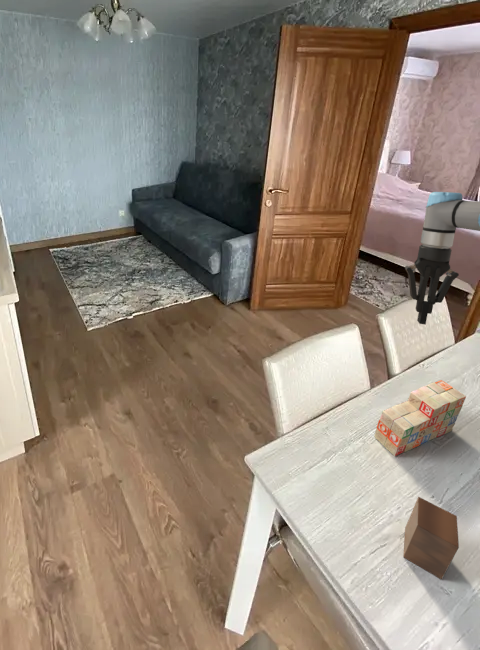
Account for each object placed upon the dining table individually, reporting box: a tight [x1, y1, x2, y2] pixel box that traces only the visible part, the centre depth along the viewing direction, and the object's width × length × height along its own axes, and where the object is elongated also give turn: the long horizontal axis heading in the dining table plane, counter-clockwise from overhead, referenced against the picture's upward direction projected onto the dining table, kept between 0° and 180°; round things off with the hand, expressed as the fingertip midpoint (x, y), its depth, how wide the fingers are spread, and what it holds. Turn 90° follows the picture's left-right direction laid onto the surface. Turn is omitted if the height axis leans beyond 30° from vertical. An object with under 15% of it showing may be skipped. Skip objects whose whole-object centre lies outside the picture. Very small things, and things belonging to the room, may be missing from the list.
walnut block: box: [402, 496, 460, 580], centre depth 65 cm, size 6×6×10 cm
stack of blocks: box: [373, 379, 467, 457], centre depth 89 cm, size 21×6×12 cm, turn 111°
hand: (421, 322), depth 104 cm, fingers closed
